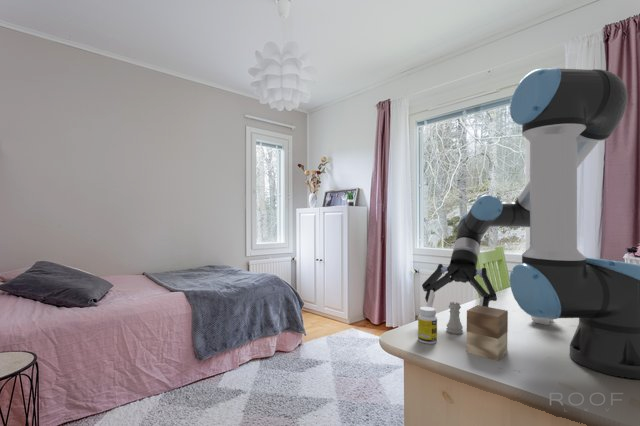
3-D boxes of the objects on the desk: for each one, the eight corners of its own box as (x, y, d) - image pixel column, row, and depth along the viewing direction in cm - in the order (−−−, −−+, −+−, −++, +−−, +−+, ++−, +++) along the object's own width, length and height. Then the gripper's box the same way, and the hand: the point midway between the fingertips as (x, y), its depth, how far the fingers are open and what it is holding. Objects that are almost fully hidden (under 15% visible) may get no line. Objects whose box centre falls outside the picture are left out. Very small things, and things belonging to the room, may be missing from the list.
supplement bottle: (434, 345, 86) (434, 312, 86) (415, 341, 88) (415, 309, 88) (438, 339, 90) (439, 307, 90) (420, 336, 92) (421, 305, 92)
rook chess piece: (464, 335, 93) (464, 305, 93) (447, 333, 94) (447, 304, 94) (461, 329, 98) (461, 301, 98) (444, 328, 99) (445, 300, 99)
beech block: (507, 352, 82) (507, 331, 82) (497, 361, 77) (497, 339, 77) (477, 344, 87) (477, 324, 87) (466, 352, 82) (466, 331, 82)
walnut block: (507, 331, 82) (507, 310, 82) (498, 339, 77) (498, 316, 77) (477, 324, 87) (477, 305, 87) (466, 331, 82) (466, 310, 82)
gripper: (511, 267, 102) (504, 331, 90) (427, 260, 116) (411, 315, 104) (509, 250, 98) (502, 316, 85) (422, 245, 112) (405, 301, 99)
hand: (452, 315), depth 95 cm, fingers open, 13 cm apart
